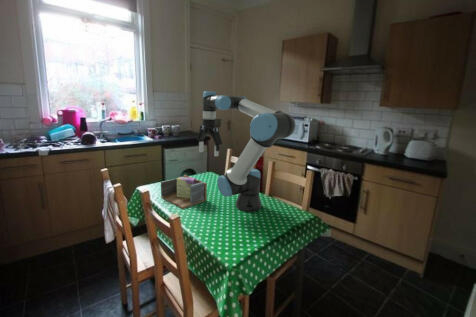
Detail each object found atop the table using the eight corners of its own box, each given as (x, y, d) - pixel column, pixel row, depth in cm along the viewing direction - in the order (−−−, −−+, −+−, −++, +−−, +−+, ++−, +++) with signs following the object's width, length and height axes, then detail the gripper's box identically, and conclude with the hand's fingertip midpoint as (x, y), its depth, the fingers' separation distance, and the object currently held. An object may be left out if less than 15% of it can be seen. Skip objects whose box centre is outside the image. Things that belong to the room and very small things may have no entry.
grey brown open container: (206, 200, 157) (206, 181, 154) (182, 208, 143) (182, 188, 141) (185, 190, 171) (184, 173, 168) (161, 197, 158) (160, 178, 155)
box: (195, 195, 161) (195, 177, 158) (193, 198, 155) (193, 180, 152) (179, 194, 162) (179, 176, 159) (176, 197, 156) (176, 179, 153)
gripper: (229, 120, 143) (227, 157, 148) (200, 116, 159) (200, 149, 164) (219, 120, 137) (218, 158, 142) (190, 117, 153) (190, 151, 158)
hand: (208, 154), depth 153 cm, fingers open, 13 cm apart
